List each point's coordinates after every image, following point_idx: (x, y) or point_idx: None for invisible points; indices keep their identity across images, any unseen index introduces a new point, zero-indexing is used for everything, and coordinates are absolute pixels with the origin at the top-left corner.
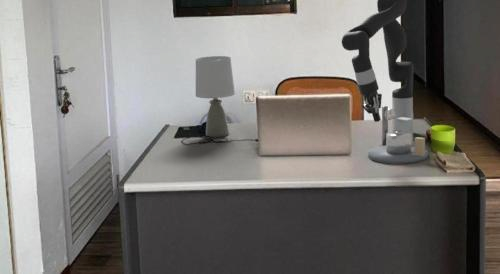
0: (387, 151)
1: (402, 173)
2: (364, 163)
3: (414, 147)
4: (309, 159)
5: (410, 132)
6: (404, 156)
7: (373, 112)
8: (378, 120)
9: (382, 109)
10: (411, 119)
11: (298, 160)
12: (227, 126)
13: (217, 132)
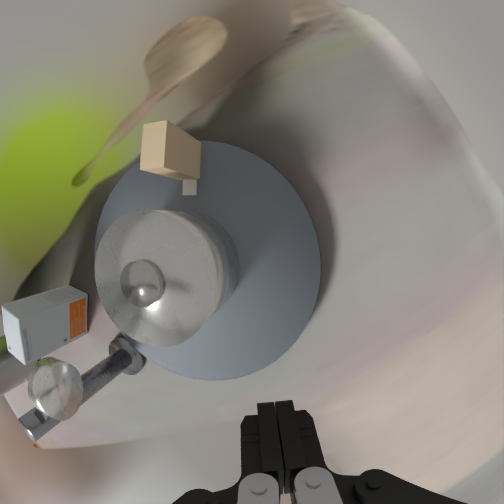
0: (227, 299)
1: (405, 131)
2: (353, 331)
3: None
4: None
5: (44, 298)
6: (241, 204)
7: (392, 475)
8: (291, 407)
9: (43, 434)
10: (6, 308)
11: None
12: None
13: None
